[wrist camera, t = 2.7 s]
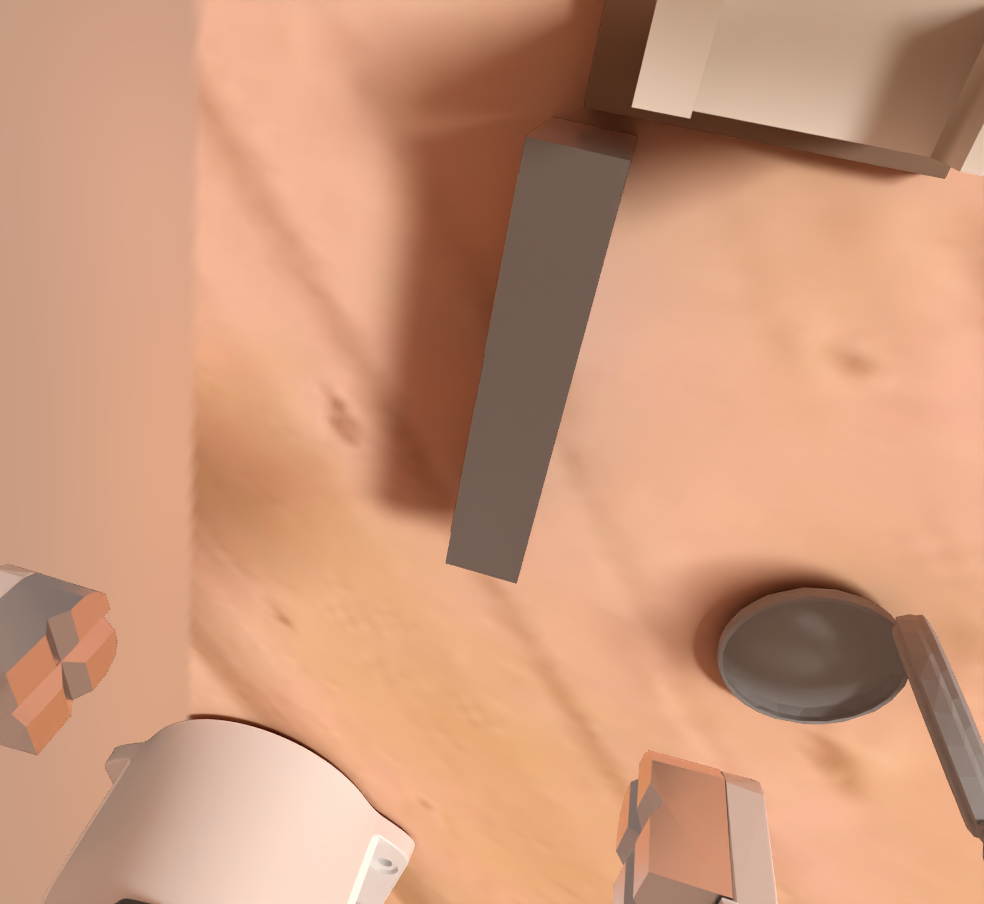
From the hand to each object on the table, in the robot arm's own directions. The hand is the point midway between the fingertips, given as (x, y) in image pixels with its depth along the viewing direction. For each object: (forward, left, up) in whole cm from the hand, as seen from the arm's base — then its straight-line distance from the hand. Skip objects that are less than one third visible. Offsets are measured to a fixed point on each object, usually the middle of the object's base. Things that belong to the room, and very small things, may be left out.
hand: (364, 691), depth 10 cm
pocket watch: (-9, -14, -15) cm, 22 cm away
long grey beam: (0, -1, -15) cm, 15 cm away
